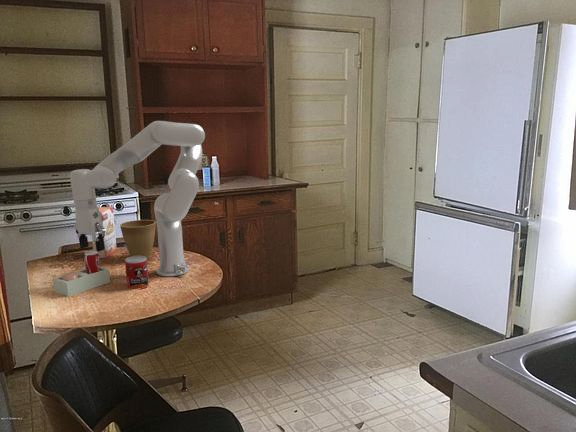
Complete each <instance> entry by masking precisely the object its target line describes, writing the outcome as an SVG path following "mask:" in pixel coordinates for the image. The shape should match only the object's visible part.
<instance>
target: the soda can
mask: <svg viewBox="0 0 576 432" xmlns="http://www.w3.org/2000/svg"><path fill="white" fill-rule="evenodd" d="M83 260H84V269H85V273H87V274H92V273H96V272H99V271H100V267H101V265H100V258H99V254H98V251H96V250H93V249H92V250H86V251H84V255H83Z"/></svg>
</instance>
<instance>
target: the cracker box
mask: <svg viewBox="0 0 576 432" xmlns="http://www.w3.org/2000/svg"><path fill="white" fill-rule="evenodd" d="M98 208H99V211H100V214H101V218H102V223H103V227H104V228H105V229H106V231H105V237H104V246H105V249H104V250H102V251H99V252H98V254H99V259H107V258H108V257H109V256H111V255H112V254H114V252H116V251H117V241H116V240H117V237H116V226H115V225H116V224H115V212H114V211H115V210H114V207H113V206H100V207H98ZM95 233H96V232H95ZM97 236H99V234H98V235H97ZM91 241H92V242H91V243H92V250H96V244H95V241H96V239H95V238H94V236H93V235H91Z"/></svg>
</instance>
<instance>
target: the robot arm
mask: <svg viewBox="0 0 576 432" xmlns="http://www.w3.org/2000/svg"><path fill="white" fill-rule="evenodd" d="M205 138H206V133H205V131H204V129H203V127H202V126H200V125H199V124H197V123H184V122H174V121H167V120H155V121H152V122H151V123H149V124H148V125H147V126H146V127H144V128H143V129H142V130H141V131H140V132H138V133H137V134H136V135H135V136H134V137H132V138H131V139H130V140H128V141H127V142H126V143H124V144H123V145H121V146H120V147H119V148H118V149H115V151H113V152H112V153H110V154H109V155H107V157H105V158H104V159H103V160H102V161H100V162H99V163H97V165H95V167H94V168H92V169H91V170H90V169H88V168H86V169H85V168H84V169H83V168H82V169H75V170H72V171H70V173H69V177H70V178H69V179H70V185H71V192H72V198H73V204H74V211H75V213H74V215H75V223H74V225H73V227H74V230H75V234H77V235H76V236H77V238H78V242H79V248H80V249H85V248H88V247H89V239H88V236H92V235H93V236H94V238H95V239H96V241H95V244H96V251H98V252H99V251H102V250H104V249H105V246H104V237H105V231H106V229H105V228H104V227H103V223H102V218H101V214H100V211H99V208H100V207H99V206H98V202H97V197H96V190H95V189H109V188H111V187H113V186H114V185H115V184H116V182H117V179H118V177H117V175H119V174H120V173H121V172H123V171H124V170H125V169H127V168H128V167H131V166H134V165H137V164H139V163H141V162H142V161H144V160H145V159H146V158H148V157H149V156H150V155H151V154H152V153H153V152H154V151H156V150H157V149H158V148H159V147H161V145H165V146H173V147H174V146H176V147H177V146H178V147H180V153H179V157H178V159H177V160H176V163H175V165H174V167H173V169H172V171H171V173H170V174H169V176H168V180H167V184H168V187H169V189H170V191H169V193H163V194H160V195H159V196H158V197H156V199H155V201H154V205H153V208H154V216H155V222H156V232H157V245H158V246H157V247H158V257H159V267H158V268H156V270H155V272H156V275H158V276H161V277H176V276H181V275H184V274H187V273H188V271H189V269H190V268H191V266H190V265H189V264H187V261H186V260H185V258H184V245H183V244H184V242H183V241H184V240H183V226H182V220H183V219H185V217H186V215H187V214H188V213H189V210H190V208H191V206H192V205H193V202H194V200H195V197H196V196H197V194H198V192H199V187H200V181H199V177H197V175H196V174H197V172H198V170H199V167H200V165H201V162H202V161H203V160H202V159H203V147H202V146H203V145H202V144H203V143H204V141H205ZM95 232H96V233H95ZM98 234H99V236H97V235H98Z"/></svg>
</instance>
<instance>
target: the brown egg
mask: <svg viewBox="0 0 576 432" xmlns="http://www.w3.org/2000/svg"><path fill="white" fill-rule="evenodd" d="M61 276H62V280H64V281H71V280H74V279H77V278H78V273H76V271H73V272H71V271H70V272H66V273H63V274H62V275H61Z"/></svg>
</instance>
